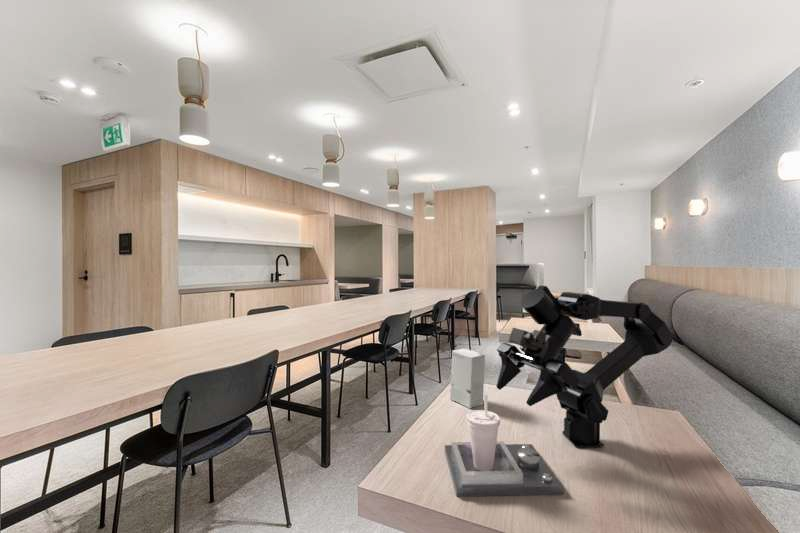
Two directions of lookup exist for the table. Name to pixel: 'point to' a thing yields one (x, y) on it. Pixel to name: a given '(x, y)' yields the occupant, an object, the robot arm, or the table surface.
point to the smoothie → (483, 436)
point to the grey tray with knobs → (501, 472)
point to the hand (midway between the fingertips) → (512, 396)
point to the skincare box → (467, 377)
